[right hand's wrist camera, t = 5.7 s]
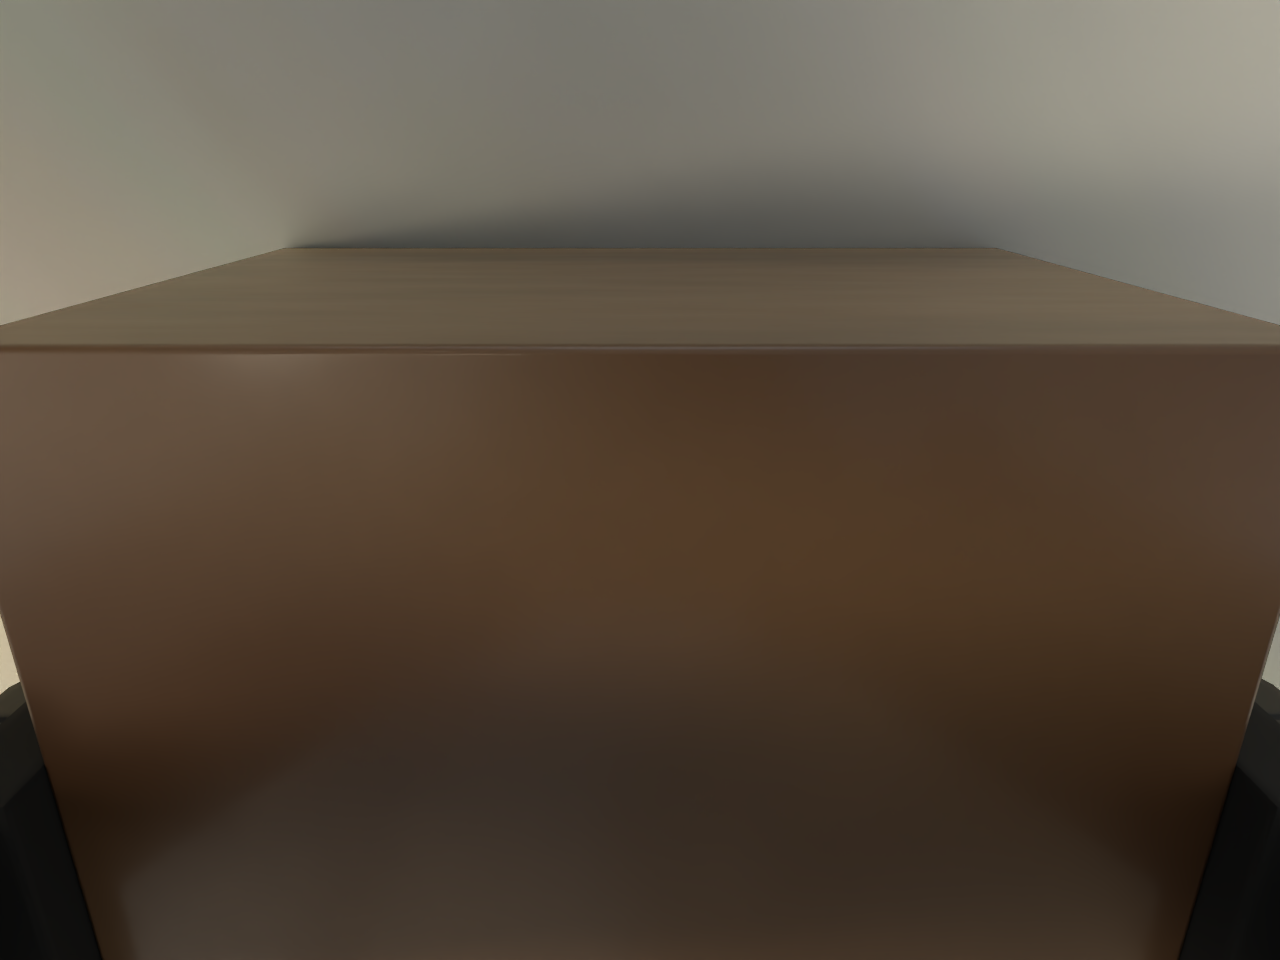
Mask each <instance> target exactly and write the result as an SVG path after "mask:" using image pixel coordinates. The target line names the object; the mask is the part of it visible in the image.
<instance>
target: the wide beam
mask: <svg viewBox="0 0 1280 960" xmlns="http://www.w3.org/2000/svg"><path fill="white" fill-rule="evenodd" d="M0 614H1V618H2V621H3V625H4V628H5V631H6V635H7V638H8V642H9V645H10V648H11V652H12V655H13V659H14V662H15V665H16V669H17V672H18V676H19V679H20V682H21V686H22V689H23V693H24V696H25V699H26V703H27V706H28V710H29V713H30V716H31V720H32V723H33V727H34V730H35V733H36V737H37V740H38V744H39V747H40V751H41V754H42V757H43V761H44V764H45V768H46V771H47V774H48V778H49V781H50V785H51V788H52V791H53V795H54V798H55V802H56V805H57V808H58V812H59V815H60V819H61V822H62V825H63V829H64V832H65V836H66V839H67V842H68V846H69V849H70V853H71V856H72V859H73V863H74V866H75V870H76V873H77V876H78V880H79V883H80V887H81V890H82V893H83V897H84V900H85V904H86V907H87V910H88V914H89V917H90V921H91V924H92V928H93V931H94V934H95V938H96V941H97V945H98V948H99V951H100V955H101V958H102V960H1179V957H1180V953H1181V950H1182V947H1183V943H1184V940H1185V936H1186V933H1187V930H1188V926H1189V923H1190V919H1191V916H1192V913H1193V909H1194V906H1195V902H1196V899H1197V895H1198V892H1199V889H1200V885H1201V882H1202V878H1203V875H1204V872H1205V868H1206V865H1207V861H1208V858H1209V855H1210V851H1211V848H1212V844H1213V841H1214V838H1215V834H1216V831H1217V827H1218V824H1219V821H1220V817H1221V814H1222V810H1223V807H1224V804H1225V800H1226V797H1227V793H1228V790H1229V787H1230V783H1231V780H1232V776H1233V773H1234V770H1235V766H1236V763H1237V759H1238V756H1239V753H1240V749H1241V746H1242V742H1243V739H1244V736H1245V732H1246V729H1247V725H1248V722H1249V719H1250V715H1251V712H1252V708H1253V705H1254V702H1255V698H1256V695H1257V691H1258V688H1259V685H1260V681H1261V678H1262V674H1263V671H1264V668H1265V664H1266V661H1267V657H1268V654H1269V651H1270V647H1271V644H1272V640H1273V637H1274V634H1275V630H1276V627H1277V623H1278V620H1279V617H1280V325H1277V324H1273V323H1269V322H1266V321H1262V320H1258V319H1255V318H1251V317H1247V316H1244V315H1240V314H1236V313H1233V312H1229V311H1225V310H1221V309H1218V308H1214V307H1210V306H1207V305H1203V304H1199V303H1196V302H1192V301H1188V300H1185V299H1181V298H1177V297H1174V296H1170V295H1166V294H1163V293H1159V292H1155V291H1152V290H1148V289H1144V288H1141V287H1137V286H1133V285H1130V284H1126V283H1122V282H1119V281H1115V280H1111V279H1108V278H1104V277H1100V276H1097V275H1093V274H1089V273H1086V272H1082V271H1078V270H1075V269H1071V268H1067V267H1064V266H1060V265H1056V264H1053V263H1049V262H1045V261H1042V260H1038V259H1034V258H1030V257H1027V256H1023V255H1019V254H1016V253H1012V252H1008V251H1005V250H1001V249H997V248H283V249H279V250H276V251H272V252H268V253H265V254H261V255H257V256H254V257H250V258H246V259H243V260H239V261H235V262H232V263H228V264H224V265H221V266H217V267H213V268H210V269H206V270H202V271H199V272H195V273H191V274H188V275H184V276H180V277H177V278H173V279H169V280H166V281H162V282H158V283H155V284H151V285H147V286H144V287H140V288H136V289H133V290H129V291H125V292H122V293H118V294H114V295H111V296H107V297H103V298H100V299H96V300H92V301H89V302H85V303H81V304H78V305H74V306H70V307H67V308H63V309H59V310H56V311H52V312H48V313H45V314H41V315H37V316H34V317H30V318H26V319H22V320H19V321H15V322H11V323H8V324H4V325H0Z"/></svg>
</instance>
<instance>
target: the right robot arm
mask: <svg viewBox="0 0 1280 960" xmlns="http://www.w3.org/2000/svg"><path fill="white" fill-rule="evenodd" d="M0 960H102V958H101V955H100V951H99V948H98V945H97V941H96V938H95V934H94V931H93V928H92V924H91V921H90V917H89V914H88V910H87V907H86V904H85V900H84V897H83V893H82V890H81V887H80V883H79V880H78V876H77V873H76V870H75V866H74V863H73V859H72V856H71V853H70V849H69V846H68V842H67V839H66V836H65V832H64V829H63V825H62V822H61V819H60V815H59V812H58V808H57V805H56V802H55V798H54V795H53V791H52V788H51V785H50V781H49V778H48V774H47V771H46V768H45V764H44V761H43V757H42V754H41V751H40V747H39V744H38V740H37V737H36V733H35V730H34V727H33V723H32V720H31V716H30V713H29V710H28V706H27V703H26V699H25V696H24V693H23V689H22V686H21V682H19V683H17V684H15V685H13V686H11V687H9V688H8V689H7V690H5V691H4V692H3V693H2V694H1V695H0ZM1179 960H1280V690H1279V689H1277V688H1276V687H1275V686H1274V685H1272V684H1270V683H1269V682H1267V681H1265V680H1263V679H1261V681H1260V685H1259V688H1258V691H1257V695H1256V698H1255V702H1254V705H1253V708H1252V712H1251V715H1250V719H1249V722H1248V725H1247V729H1246V732H1245V736H1244V739H1243V742H1242V746H1241V749H1240V753H1239V756H1238V759H1237V763H1236V766H1235V770H1234V773H1233V776H1232V780H1231V783H1230V787H1229V790H1228V793H1227V797H1226V800H1225V804H1224V807H1223V810H1222V814H1221V817H1220V821H1219V824H1218V827H1217V831H1216V834H1215V838H1214V841H1213V844H1212V848H1211V851H1210V855H1209V858H1208V861H1207V865H1206V868H1205V872H1204V875H1203V878H1202V882H1201V885H1200V889H1199V892H1198V895H1197V899H1196V902H1195V906H1194V909H1193V913H1192V916H1191V919H1190V923H1189V926H1188V930H1187V933H1186V936H1185V940H1184V943H1183V947H1182V950H1181V953H1180V957H1179Z"/></svg>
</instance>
